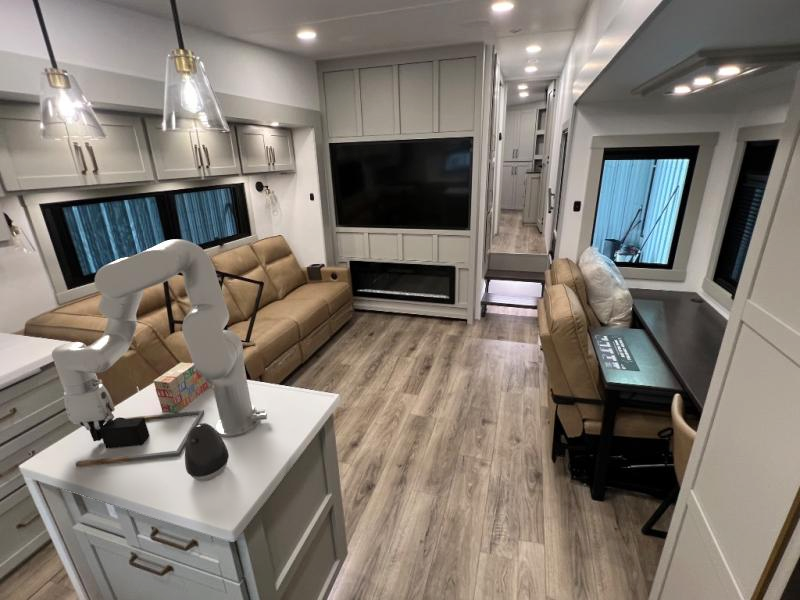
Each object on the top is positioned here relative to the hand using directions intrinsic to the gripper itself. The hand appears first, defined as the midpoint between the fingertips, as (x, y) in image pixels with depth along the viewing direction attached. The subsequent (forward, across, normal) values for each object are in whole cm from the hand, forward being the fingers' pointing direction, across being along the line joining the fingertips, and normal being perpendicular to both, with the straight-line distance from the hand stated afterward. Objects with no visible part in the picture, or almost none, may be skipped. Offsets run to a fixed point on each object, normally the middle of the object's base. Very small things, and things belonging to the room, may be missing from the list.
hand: (99, 437), depth 114 cm
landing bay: (+2, -19, 0) cm, 19 cm away
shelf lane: (+2, -6, 0) cm, 6 cm away
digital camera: (+2, -8, +1) cm, 9 cm away
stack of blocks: (+2, -18, -22) cm, 29 cm away
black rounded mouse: (+2, -37, +18) cm, 41 cm away
